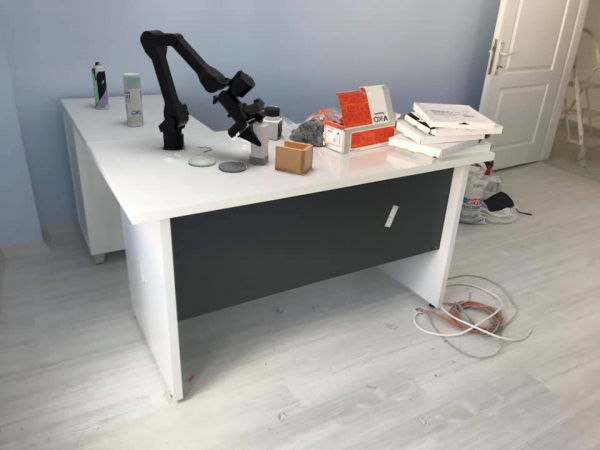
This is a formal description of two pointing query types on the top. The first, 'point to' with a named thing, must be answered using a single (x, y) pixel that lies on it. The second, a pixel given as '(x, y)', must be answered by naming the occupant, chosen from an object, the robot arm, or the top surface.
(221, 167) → the pad dark
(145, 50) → the robot arm
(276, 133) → the medicine bottle
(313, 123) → the mineral rock
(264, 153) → the tall white pillar block
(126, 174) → the top surface
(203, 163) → the pad pale
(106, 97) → the spray can
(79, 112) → the top surface
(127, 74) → the spray paint can
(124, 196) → the top surface
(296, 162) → the chute
